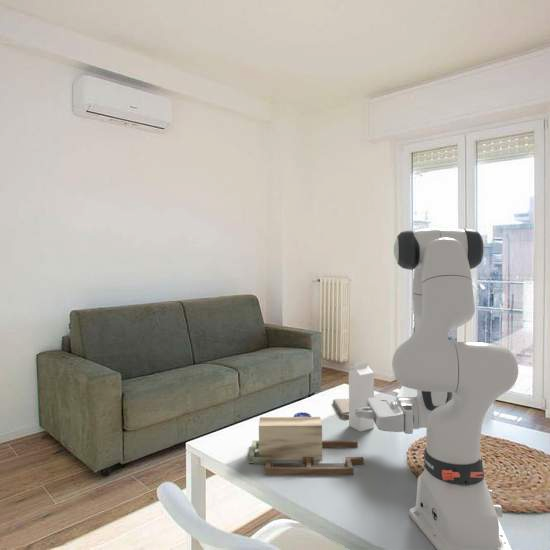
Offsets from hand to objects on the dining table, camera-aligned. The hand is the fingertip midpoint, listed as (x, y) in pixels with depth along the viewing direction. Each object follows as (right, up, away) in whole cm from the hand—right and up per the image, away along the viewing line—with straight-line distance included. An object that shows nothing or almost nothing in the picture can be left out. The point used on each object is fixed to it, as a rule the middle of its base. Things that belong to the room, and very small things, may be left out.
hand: (355, 412), depth 131 cm
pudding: (-14, -12, +21) cm, 28 cm away
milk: (+6, -12, +22) cm, 26 cm away
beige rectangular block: (-19, -13, +2) cm, 23 cm away
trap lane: (-14, -13, -1) cm, 19 cm away
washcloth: (+6, -11, +39) cm, 41 cm away
